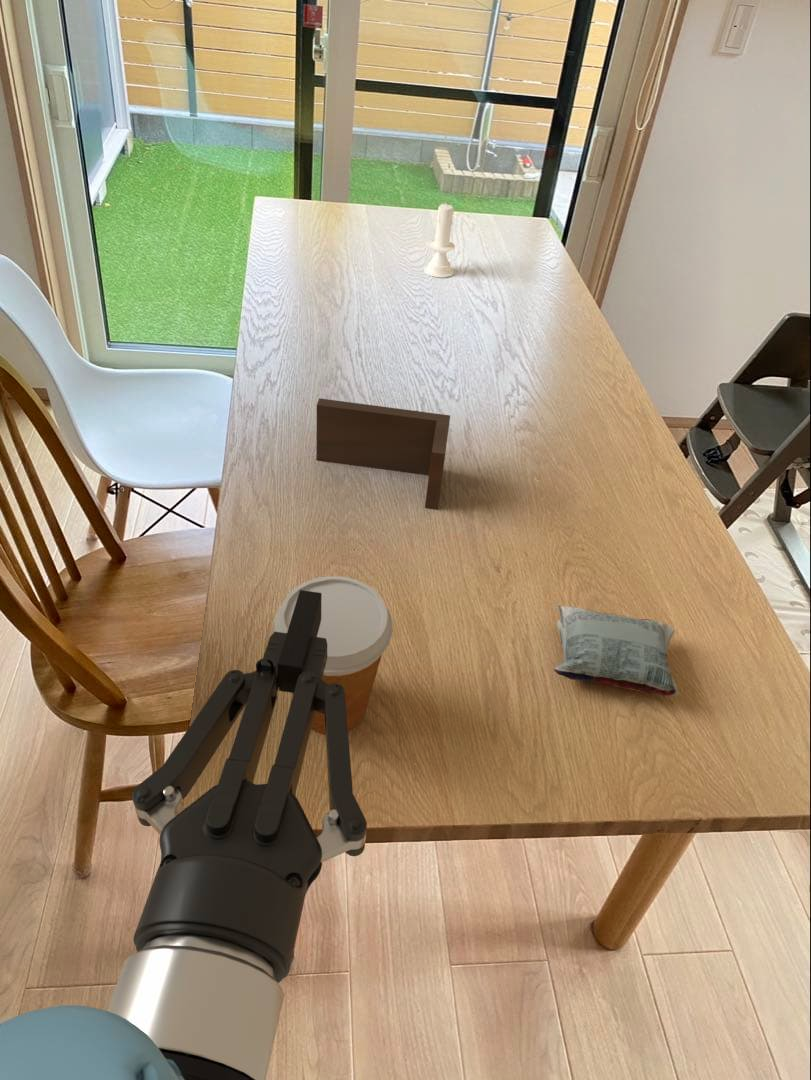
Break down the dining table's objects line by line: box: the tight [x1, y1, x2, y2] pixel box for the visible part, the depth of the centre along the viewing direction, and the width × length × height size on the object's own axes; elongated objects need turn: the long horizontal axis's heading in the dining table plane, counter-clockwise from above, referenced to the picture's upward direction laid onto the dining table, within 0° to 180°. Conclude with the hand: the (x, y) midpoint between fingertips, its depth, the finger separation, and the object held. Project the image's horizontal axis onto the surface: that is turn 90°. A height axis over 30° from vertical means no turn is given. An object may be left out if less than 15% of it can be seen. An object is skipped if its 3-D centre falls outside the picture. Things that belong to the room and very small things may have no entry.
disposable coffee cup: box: [273, 575, 394, 735], centre depth 66 cm, size 10×10×12 cm
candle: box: [423, 201, 456, 279], centre depth 136 cm, size 5×5×12 cm
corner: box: [315, 397, 451, 510], centre depth 92 cm, size 8×16×8 cm, turn 83°
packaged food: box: [552, 601, 681, 697], centre depth 74 cm, size 9×12×5 cm
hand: (310, 605), depth 54 cm, fingers closed
